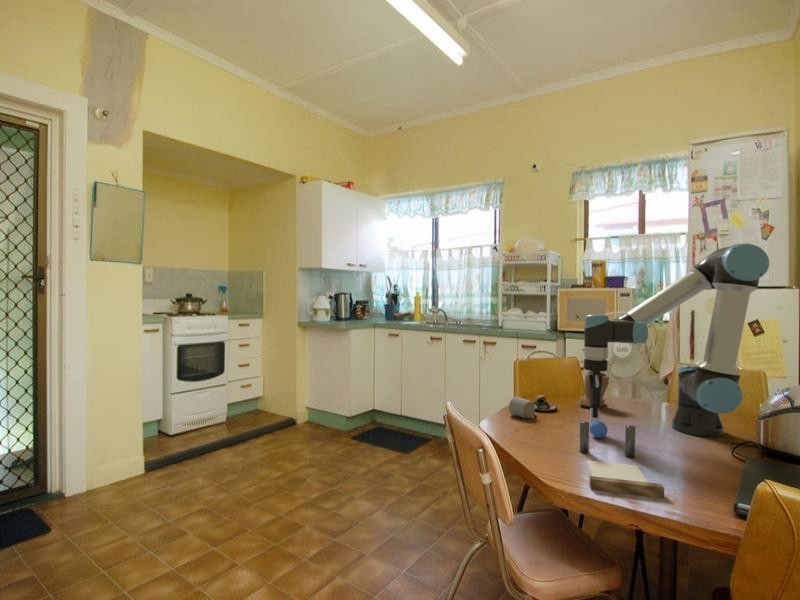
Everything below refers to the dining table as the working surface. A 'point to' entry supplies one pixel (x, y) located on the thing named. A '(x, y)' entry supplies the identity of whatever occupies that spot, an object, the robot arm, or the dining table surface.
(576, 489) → the dining table surface
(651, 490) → the stopper wall
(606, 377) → the brown boot
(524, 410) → the ceramic mug
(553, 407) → the plate of salad
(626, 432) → the right post
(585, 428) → the left post
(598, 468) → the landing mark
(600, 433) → the ball
